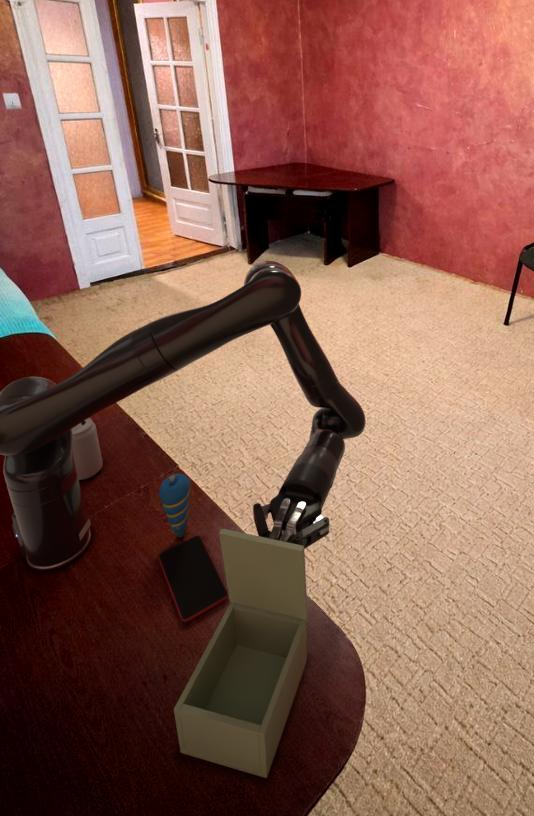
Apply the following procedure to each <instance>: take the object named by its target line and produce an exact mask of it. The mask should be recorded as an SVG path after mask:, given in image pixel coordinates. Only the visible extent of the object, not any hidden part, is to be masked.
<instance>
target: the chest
mask: <svg viewBox="0 0 534 816" xmlns="http://www.w3.org/2000/svg"><path fill="white" fill-rule="evenodd" d="M307 621H308V620H307V619H306V620H304V619H300V618H296V617H292V616H288V615H283V614H279V613H275V612H271V611H267V610H263V609H258V608H254V607H250V606H246V605H242V604H238V603H233V602H230V603H229V605H228V607H227V608H226V611H225V612H224V614H223V616H222V617H221V619H220V622H219V624H218V625H217V627H216V629H215V631H214V633H213V635H212V637H211V639H210V641H208V644H207V646H206V648H205V650H204V652H203V654H202V655H201V657H200V659H199V661H198V663H197V664H196V667H195V668H194V670H193V672H192V674H191V676H190V677H189V680H188V682H187V684H186V686H185V687H184V689H183V691H182V693H181V695H180V697H179V698H178V701H176V704H175V706H174V708H173V715H174V720H175V727H176V732H177V733H176V734H177V738H178V745H179V752H180V753H181V754H183V755H187V756H190V757H194V758H196V759H200V760H203V761H207V762H211V763H214V764H217V765H220V766H224V767H228V768H231V769H233V770H237V771H241V772H244V773H248V774H251V775H254V776H258V777H261V778H264V779H267V778H268V776H269V773H270V771H271V767H272V764H273V761H274V758H275V755H276V753H277V750H278V747H279V744H280V741H281V738H282V735H283V732H284V729H285V726H286V723H287V720H288V717H289V715H290V711H291V708H292V706H293V703H294V701H295V696H296V694H297V691H298V688H299V685H300V683H301V679H302V676H303V673H304V670H305V668H306V665H307V661H308V638H307V637H308V631H307V629H308V626H307V623H308V622H307Z"/></svg>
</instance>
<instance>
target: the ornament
mask: <svg viewBox="0 0 534 816" xmlns="http://www.w3.org/2000/svg"><path fill="white" fill-rule="evenodd" d="M190 489H191V479H190V478H189V477H188V476H187V475H185V474H182V473H171V475H170V476H168V477H166V478H165V479H164V480H163V481H162V482H161V484H160V487H159V490H158V498H159V500H160V502H161V508H162V510H163V512H164V513H165V514H166V519H167V521H168V523H169V527H170V530H171V531H172V532H173V533H174V534H175V535H177V536H178V537H179V538H183V537H184V535H185V532H186V530H187V529H186V528H187V525H188V521H189V513H188V512H189V510H190V499H191V490H190Z"/></svg>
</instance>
